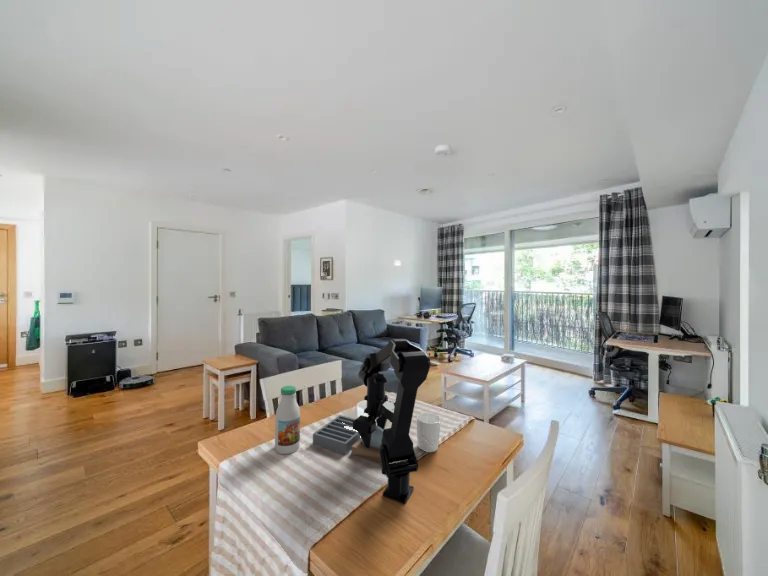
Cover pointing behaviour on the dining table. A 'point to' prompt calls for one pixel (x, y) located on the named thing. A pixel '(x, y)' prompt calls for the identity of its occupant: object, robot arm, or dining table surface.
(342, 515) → the dining table surface
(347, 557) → the dining table surface
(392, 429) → the robot arm
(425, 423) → the white cup
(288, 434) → the milk bottle
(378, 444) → the plate
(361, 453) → the plate stand
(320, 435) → the dish rack
